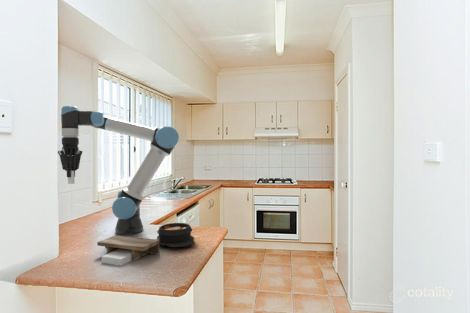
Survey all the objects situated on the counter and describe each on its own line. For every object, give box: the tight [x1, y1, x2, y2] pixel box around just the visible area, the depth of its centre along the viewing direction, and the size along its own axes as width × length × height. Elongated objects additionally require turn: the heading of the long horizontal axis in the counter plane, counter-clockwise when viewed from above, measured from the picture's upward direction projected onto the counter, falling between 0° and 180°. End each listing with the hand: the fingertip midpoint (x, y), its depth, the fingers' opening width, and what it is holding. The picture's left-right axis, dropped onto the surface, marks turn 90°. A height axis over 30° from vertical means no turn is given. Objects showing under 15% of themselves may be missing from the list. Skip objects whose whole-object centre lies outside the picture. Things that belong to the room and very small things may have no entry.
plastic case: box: [101, 248, 133, 266], centre depth 125 cm, size 14×10×3 cm
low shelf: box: [97, 234, 160, 261], centre depth 129 cm, size 11×24×6 cm, turn 71°
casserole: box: [156, 222, 195, 248], centre depth 145 cm, size 25×19×8 cm
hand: (71, 183), depth 150 cm, fingers closed
